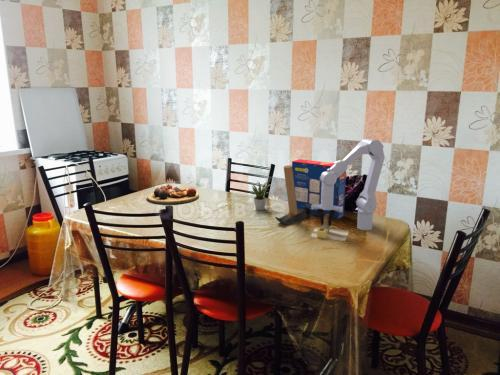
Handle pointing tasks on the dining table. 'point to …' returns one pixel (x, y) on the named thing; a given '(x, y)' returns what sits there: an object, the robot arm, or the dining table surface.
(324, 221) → the grey-capped tan cylinder
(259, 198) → the house plant
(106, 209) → the dining table surface
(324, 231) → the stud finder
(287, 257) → the dining table surface
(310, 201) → the blue product box
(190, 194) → the wooden plate with food
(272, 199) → the dining table surface
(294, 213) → the hammer
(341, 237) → the striped beige square plate
